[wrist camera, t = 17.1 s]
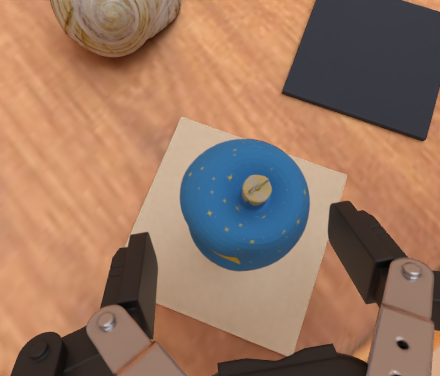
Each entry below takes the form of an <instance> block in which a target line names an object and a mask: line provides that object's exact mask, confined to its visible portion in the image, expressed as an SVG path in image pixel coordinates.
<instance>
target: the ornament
mask: <svg viewBox="0 0 440 376" xmlns="http://www.w3.org/2000/svg"><path fill="white" fill-rule="evenodd" d="M180 206H181V211H182V214H183V216H184V219H185V221H186V223H187V225H188V227H189V231H190V234H191V237H192V239H193V241H194V243H195V245H196V246H197V248H198V249H199V250H200V252H201V253H202V254H203V255H204V256H205V257H206V258H207V259H209V260H210V261H211V262H213V263H215V264H216V265H218V266H220V267H222V268H225V269H227V270H231V271H250V270H256V269H260V268H263V267H266V266H269V265H271V264H273V263H275V262H277V261H279V260H280V259H281V258H283V257H284V256H285V255H286V254H288V253H289V252H290V251H291V249H292V248H293V247H294V246H295V245H296V244H297V242H298V241H299V239H300V238H301V236H302V234H303V232H304V230H305V228H306V225H307V221H308V217H309V211H310V196H309V190H308V186H307V182H306V180H305V177H304V175H303V173H302V171H301V170H300V168H299V167H298V165H297V164H296V163H295V162H294V160H293V159H292V158H291V157H290V156H288V155H287V154H286V153H285V152H284V151H282V150H281V149H279V148H277V147H275V146H274V145H271V144H269V143H266V142H263V141H259V140H253V139H235V140H229V141H225V142H222V143H219V144H216V145H215V146H213V147H211V148H209V149H207V150H206V151H204V152H203V153H202V154H200V155H199V156H198V157H197V158H196V159H195V160H194V161H193V162H192V163H191V164H190V166H189V167H188V169H187V170H186V172H185V174H184V176H183V179H182V182H181V187H180Z"/></svg>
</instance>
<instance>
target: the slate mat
mask: <svg viewBox="0 0 440 376" xmlns="http://www.w3.org/2000/svg"><path fill="white" fill-rule="evenodd" d="M439 88H440V12H438V11H435V10H432V9H429V8H425V7H422V6H419V5H415V4H412V3H409V2H405V1H402V0H316V2H315V5H314V8H313V10H312V13H311V16H310V19H309V21H308V24H307V27H306V29H305V32H304V35H303V38H302V40H301V43H300V46H299V48H298V51H297V54H296V56H295V59H294V62H293V65H292V67H291V70H290V73H289V75H288V78H287V81H286V83H285V86H284V89H283V92H282V93H283V94H286V95H288V96H291V97H294V98H297V99H300V100H303V101H306V102H309V103H312V104H315V105H318V106H321V107H324V108H327V109H330V110H333V111H336V112H339V113H342V114H345V115H348V116H351V117H354V118H357V119H360V120H362V121H365V122H368V123H371V124H374V125H377V126H380V127H383V128H386V129H389V130H392V131H395V132H398V133H401V134H404V135H407V136H410V137H413V138H416V139H419V140H422V141H424V140H426V138H427V134H428V130H429V126H430V122H431V119H432V115H433V111H434V107H435V103H436V99H437V95H438V91H439Z"/></svg>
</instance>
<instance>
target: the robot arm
mask: <svg viewBox="0 0 440 376" xmlns="http://www.w3.org/2000/svg"><path fill="white" fill-rule="evenodd" d="M328 238H329V241H330V243H331V245H332V247H333V249H334V250H335V252H336V254H337V256H338V257H339V259H340V261H341V262H342V264H343V266H344V267H345V269H346V271H347V273H348V274H349V276H350V278H351V279H352V281H353V283H354V285H355V286H356V288H357V290H358V291H359V293H360V295H361V296H362V298H363V300H364V302H365V303H366V304H370V303H377V305H378V306H379V312H378V317H377V321H376V325H375V330H374V334H373V339H372V343H371V348H370V352H369V357H368V361H367V363H366V362H364V361H363V360H360V359H358V358H356V357H353V356H350V355H346V354H342V353H336V350H335V348H334V346H333V344H327V345H321V346H315V347H309V348H304V349H302V350H300V351H298V352H296V353H294V354H292V355H289V356H287V357H285V358H283V359H281V360H278V361H270V360H259V359H248V358H245V359H239V360H233V361H227V362H221V363H218V373H216V374H214V375H212V376H431V369H432V355H433V340H434V330H439V331H440V272H438V271H432V270H431V269H430V268H429V267H428V266H427V265H426V264H424V263H423V262H421V261H419V260H416V259H413V258H408V257H407V256H406V255H405V253H404V252H403V251H402V250H401V249H400V247H399V246H398V245H397V244H396V243H395V241H394V240H393V239H392V238H391V237H390V235H389V234H388V233H386V231H385V230H384V228H383V227H381V225H380V224H379V222H378V221H377V220H376V219H375V218H374V217H373V216H372V215H370V214H368V213H367V212H365V211H363V210H361V211H357V210H356V208H355V207H354V206H353V204H352V203H351V202H350V201H343V202H337V203H332V204H331V205H330V209H329V220H328ZM108 276H109V277H108V279H107V283H106V287H105V291H104V295H103V299H102V304H101V307H100V309H99V310H98V311H97V312H95V313H94V314H93V315H92V317H91V318H90V319H89V321H88V323H87V325H86V326H85V327H83V328H81V329H79V330H77V331H75V332H73V333H71V334H68V335H66V336H64V337H62V338H61V337H60V335H58V334H57V333H55V332H45V333H42V334H40V335H37V336H36V337H34V338H33V339H31V340H30V341H29V342H27V344H26V345H25V346H24V347H23V348H22V349H21V351H20V353H19V355H18V357H17V360H16V362H15V365H14V368H13V370H12V373H11V376H186V374H185V373H184V372H183V371H182V370H181V369H180V368H179V366H178V365H177V364H176V363H175V362H174V361H173V359H172V358H171V357H170V356H169V355H168V354H167V353H166V351H165V350H164V349H163V348H162V347H161V346H160V345H159V344H158V343H157V342H156V341H154V342H152V341H151V340H150V339H153V333H154V319H155V305H156V292H157V278H158V262H157V257H156V254H155V251H154V247H153V244H152V241H151V238H150V234H149V232H143V233H137V234H131V235H130V238H129V243H128V247H124V248H119V250H118V251H117V252H116V254H115V255H114V257H113V258H112V263H111V267H110V271H109V275H108Z"/></svg>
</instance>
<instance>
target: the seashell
mask: <svg viewBox="0 0 440 376" xmlns="http://www.w3.org/2000/svg"><path fill="white" fill-rule="evenodd" d="M50 2H51V6H52V9H53V11H54V14H55V16H56V18H57V20H58V22H59V23H60V25H61V27H62V29H63V30H64V32H65V33H66V34H67V35H68V36H69V37H70V38H72V39H74V40H75V41H76V42H77V43H78V44H79V45H80V46H82V47H83V48H85V49H86V50H88V51H90V52H93V53H95V54H98V55H102V56H105V57H121V56H125V55H129V54H131V53H133V52H135V51H136V50H137V49H139V48H140V47H141V46H142V45H143V44H144V43H145V41H146V40H147V39H148V38H152V37H153V36H154V35H156V34H157V33H158V32H160V31H161V30H163V29H164V28H165V27H166V26H167V25H168V24H169V23H170V22H171V21H173V20H174V18H175V17H176V16H177V14H178V12H179V10H180V4H181V0H50Z"/></svg>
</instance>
